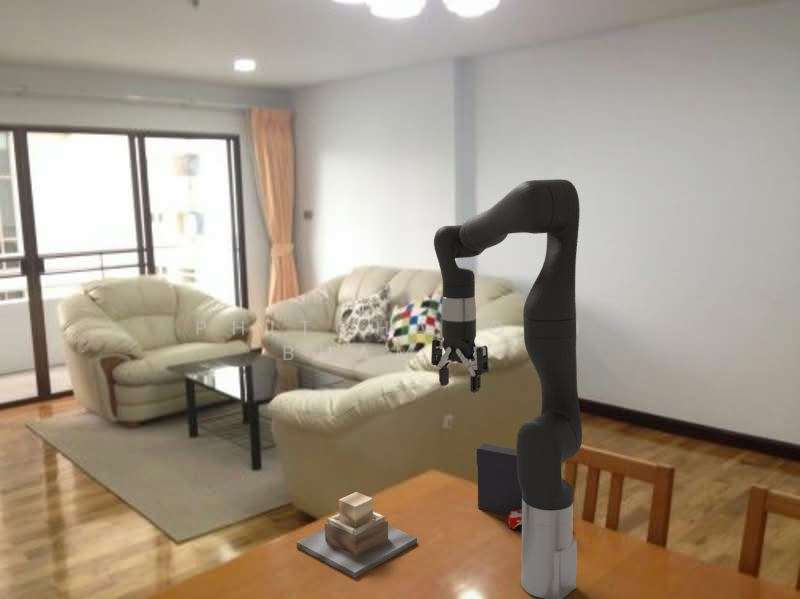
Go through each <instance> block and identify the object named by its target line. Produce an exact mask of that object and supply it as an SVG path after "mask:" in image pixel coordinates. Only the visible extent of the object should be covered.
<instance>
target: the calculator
mask: <svg viewBox="0 0 800 599" xmlns="http://www.w3.org/2000/svg"><path fill="white" fill-rule="evenodd" d="M476 465H477V508H478V509H479V510H480V509H481V510H485V511H488V512H492V513H497V514H500V515H506V516H509V514H510V512H511V511H514V510H519V509H522V490H521V487H520V485H519V481H518V472H517V449H514V448H510V447H509V448H508V447H505V446H504V447H503V446H499V445H493V444H486V443H482V445H480V446H479V447H478V448H476Z"/></svg>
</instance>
